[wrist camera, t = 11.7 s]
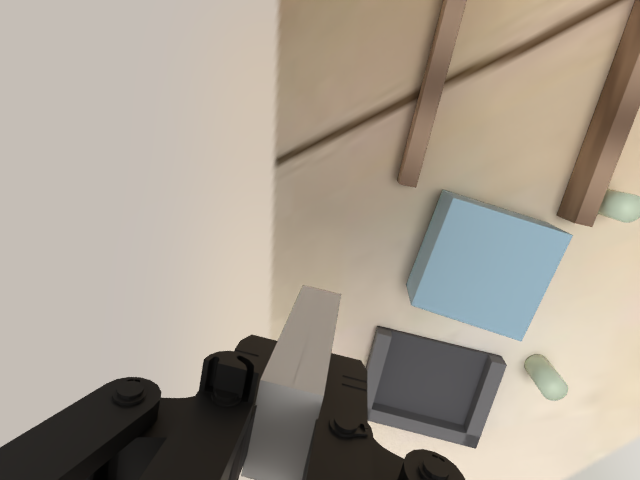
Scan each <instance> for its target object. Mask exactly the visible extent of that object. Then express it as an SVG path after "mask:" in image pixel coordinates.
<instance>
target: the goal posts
mask: <svg viewBox="0 0 640 480" xmlns="http://www.w3.org/2000/svg"><path fill="white" fill-rule="evenodd" d="M598 214H601V215H604V216H606V217H609V218H612V219H615V220H618V221H621V222H633V221H635V220H637V219H638V218H639V217H640V197H639V196H637V195H633V194H628V193H624V192H619V191H615V190H610V189H607V190H606V193H605V196H604V198H603V201H602V203H601V206H600V208H599V211H598ZM525 369H526V371H527V372H528V374H529V375H530V377H531V378H532V380H533V381H534V382H535V384H536V385H537V387H538V388H539V390H540V391H541V393H542V394H543V396H544V397H545V398H546V399H548V400H553V401H556V400H560V399H562V398H563V397H565V396H566V394H567V392H568V386H567V384H566V382H565V381H564V380H563V379H562V377H561V376H560V375H559V374H558V372H557V371H556V370H555V369H554V367H553V366H552V365H551V364H550V362H549V361H548V360H547V359H546V358H545V357H544V356H542V355H532V356H530V357H529V358H528V359H527V360H526V362H525Z"/></svg>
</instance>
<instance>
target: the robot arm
mask: <svg viewBox="0 0 640 480" xmlns="http://www.w3.org/2000/svg"><path fill="white" fill-rule="evenodd" d="M340 299H341V294H338V293H334V292H330V291H326V290H322V289H317V288H313V287H309V286H305V285H303V286H302V288H301V290H300V293H299V295H298V297H297V299H296V302H295V304H294V306H293V308H292V310H291V313H290V315H289V317H288V319H287V322H286V324H285V326H284V328H283V330H282V333H281V335H280V337H279V339H278V341H275V340H271V339H267V338H263V337H259V336H255V335H250V336H248V337H246V338H245V339H243V340H241V341H240V342H239V344H238V345H237V347H236V348H235V351H234V352H233V351H222V352H216V353H214V354H211V355H209V356H208V357H206V358H205V359H204V362H203V369H202V375H201V381H200V387H199V391H198V392H197V394H196V396H193V397H188V398H161V390H160V389H159V387H158V385H157V384H155V383H154V382H152V381H150V380H147V379H144V378H139V377H138V378H137V377H127V378H121V379H116V380H114V381H112V382H109V383H107V384H105V385H103V386H102V387H100V388H98V389H97V390H95V391H94V392H92V393H90V394H89V395H87V396H85V397H84V398H82V399H80V400H78V401H77V402H75V403H74V404H72V405H70V406H68V407H67V408H65V409H64V410H62V411H60V412H59V413H57V414H55V415H53V416H52V417H50V418H49V419H47V420H45V421H44V422H42V423H40V424H39V425H37V426H35V427H34V428H32V429H30V430H29V431H27V432H25V433H24V434H22V435H20V436H19V437H17V438H15V439H14V440H12V441H10V442H9V443H7V444H5V445H4V446H2V447H1V448H0V480H238V478H239V475H240V472H241V470H242V467H243V470H242V474H241V476H244V477H247V478H251V479H254V480H465V478H464V476H463V475H462V473H461V472H460V471H459V469H458V468H457V467H456V465H454V464H453V463H452V462H451V461H449V460H448V459H447V458H446V457H444V456H442V455H440V454H438V453H436V452H433V451H428V450H424V449H421V450H413V451H411V452H409V453H408V454H406V457H405V459H403V458H401V457H399V456H397V455H395V454H393V453H391V452H390V451H388V450H387V449H385V448H383V447H382V446H381V445H380V444H379V443H378V442H376V440H375V439H374V438H373V433H372V430H371V427H370V425H369V424H368V400H367V369H366V368H365V366H364V365H363V363H362V361H361V360H357V359H353V358H349V357H344V356H340V355H336V354H332V353H331V351H332V345H333V339H334V334H335V328H336V322H337V316H338V310H339V304H340Z"/></svg>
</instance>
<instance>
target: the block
mask: <svg viewBox="0 0 640 480" xmlns="http://www.w3.org/2000/svg"><path fill="white" fill-rule="evenodd" d="M572 236H573V235H571V234H569V233H567V232H565V231H563V230H561V229H559V228H557V227H555V226H553V225H551V224H549V223H547V222H544V221H541V220H538V219H535V218H531V217H528V216H525V215H522V214H519V213H516V212H512V211H509V210H506V209H503V208H500V207H497V206H493V205H490V204H487V203H484V202H481V201H478V200H474V199H471V198H468V197H465V196H462V195H459V194H455V193H452V192H449V191H446V190H442V193H441V195H440V198H439V200H438V203H437V206H436V208H435V211H434V213H433V216H432V219H431V221H430V224H429V227H428V229H427V232H426V234H425V237H424V240H423V242H422V245H421V247H420V250H419V253H418V255H417V258H416V260H415V263H414V266H413V268H412V271H411V273H410V276H409V279H408V281H407V284H406V285H407V290H408V294H409V298H410V302H411V305H412V306H415V307H418V308H421V309H424V310H427V311H430V312H433V313H436V314H439V315H442V316H445V317H448V318H451V319H454V320H457V321H460V322H463V323H467V324H470V325H473V326H476V327H479V328H482V329H485V330H488V331H491V332H494V333H497V334H500V335H503V336H506V337H509V338H512V339H515V340H518V341H522V339H523V337H524V335H525V333H526V331H527V329H528V327H529V325H530V323H531V321H532V319H533V316H534V314H535V312H536V310H537V308H538V306H539V304H540V302H541V300H542V298H543V296H544V294H545V292H546V290H547V288H548V286H549V284H550V281H551V279H552V277H553V275H554V273H555V271H556V269H557V267H558V265H559V263H560V261H561V259H562V257H563V255H564V253H565V251H566V249H567V246H568V244H569V242H570V240H571V238H572Z"/></svg>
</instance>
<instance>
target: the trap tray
mask: <svg viewBox="0 0 640 480" xmlns="http://www.w3.org/2000/svg"><path fill="white" fill-rule="evenodd" d="M506 366H507V365H506V363H505V361H504V360H503V358H502V356H498V355H494V354H490V353H486V352H482V351H478V350H474V349H470V348H466V347H462V346H458V345H454V344H449V343H445V342H441V341H437V340H433V339H429V338H425V337H421V336H417V335H413V334H409V333H405V332H400V331H396V330H392V329H388V328H384V327H380V326H377V330H376V333H375V337H374V341H373V344H372V348H371V352H370V355H369V359H368V363H367V367H366V369H367V400H368V421H372V422H375V423H379V424H383V425H387V426H391V427H395V428H399V429H402V430H406V431H410V432H414V433H418V434H422V435H426V436H429V437H433V438H437V439H441V440H445V441H449V442H453V443H456V444H460V445H464V446H468V447H472V448H476V447H477V444H478V442H479V439H480V436H481V433H482V431H483V428H484V425H485V423H486V420H487V417H488V414H489V412H490V409H491V406H492V404H493V401H494V398H495V396H496V393H497V390H498V387H499V385H500V382H501V379H502V377H503V374H504V371H505V368H506Z"/></svg>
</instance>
